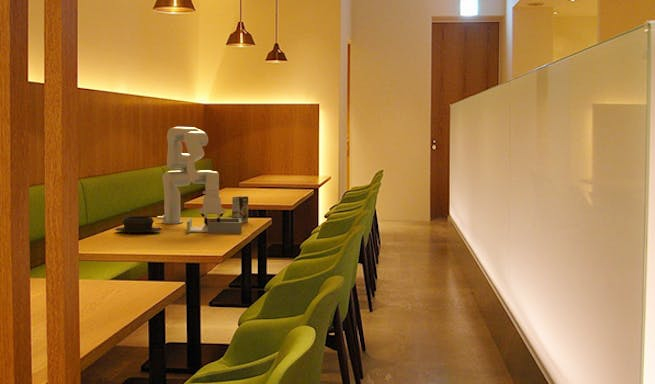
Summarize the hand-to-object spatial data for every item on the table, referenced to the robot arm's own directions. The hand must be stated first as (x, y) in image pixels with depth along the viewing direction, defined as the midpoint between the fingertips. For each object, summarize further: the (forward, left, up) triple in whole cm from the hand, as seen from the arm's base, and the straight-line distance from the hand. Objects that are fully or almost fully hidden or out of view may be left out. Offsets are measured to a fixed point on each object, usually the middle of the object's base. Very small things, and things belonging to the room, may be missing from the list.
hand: (212, 224), depth 416 cm
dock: (+7, 0, -3) cm, 8 cm away
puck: (0, 0, -1) cm, 1 cm away
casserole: (-40, -6, -4) cm, 41 cm away
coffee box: (+16, +36, -4) cm, 40 cm away
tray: (-3, 0, -3) cm, 5 cm away
